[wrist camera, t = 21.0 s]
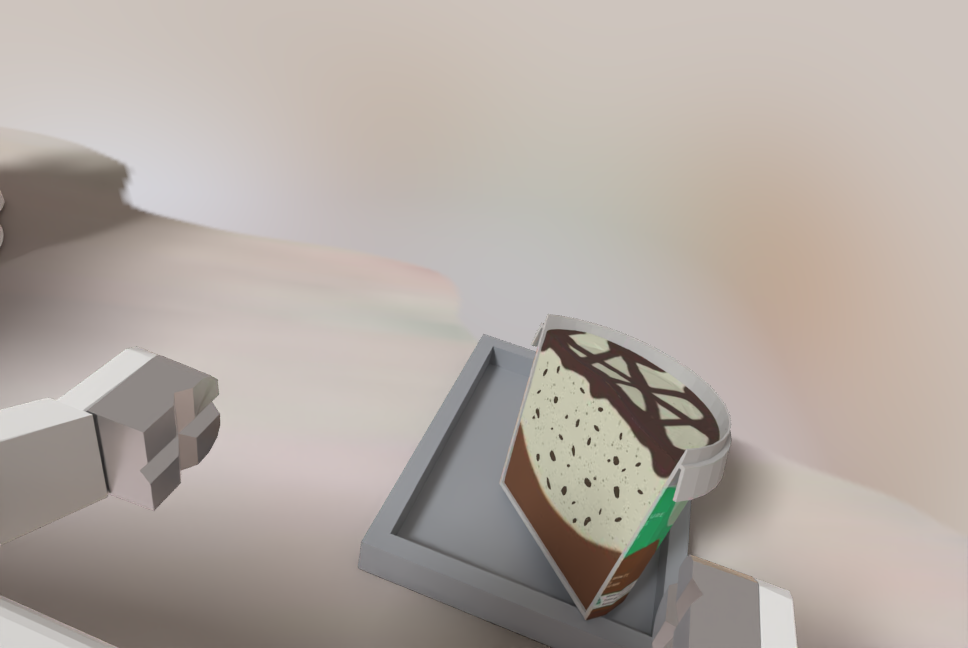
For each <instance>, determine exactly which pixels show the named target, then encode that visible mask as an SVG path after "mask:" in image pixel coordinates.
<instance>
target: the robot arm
mask: <svg viewBox="0 0 968 648" xmlns="http://www.w3.org/2000/svg"><path fill="white" fill-rule="evenodd" d="M3 205H4V198H3V196H2V193H1V190H0V211H1V209H2V208H3ZM3 237H4V234H3V229H2V227H1V225H0V246H1V244H2V242H3ZM218 395H219V389H218V379H216V378H214V377H212V376H211V375H208V374H206V373H203V372H201V371H198V370H196V369H193V368H191V367H188V366H186V365H183V364H181V363H179V362H176V361H174V360H171V359H169V358H166V357H164V356H160V355H158V354H155V353H153V352H150V351H148V350H145V349H143V348H140V347H138V346H135V347H131V348H127V349H125V350H124V351H122V352H121V353H120V354H118V355H117V356H116V357H114V358H113V359H112V360H110V361H109V362H108V363H106V364H105V365H103V366H102V367H101V368H99V369H98V370H97V371H95V372H94V373H93V374H91V375H90V376H89V377H87V378H86V379H85V380H83V381H82V382H80V383H79V384H78V385H76V386H75V387H74V388H72V389H71V390H70V391H68V392H67V393H66V394H64V395H63V396H62V397H60V398H59V399H57V400H55V399H52V398H50V397H48V398H44V399H40V400H36V401H32V402H28V403H24V404H20V405H16V406H13V407H9V408H5V409H1V410H0V546H1V545H3V544H5V543H8V542H10V541H12V540H14V539H16V538H19V537H21V536H23V535H25V534H27V533H30V532H32V531H34V530H36V529H38V528H41V527H43V526H45V525H47V524H49V523H52V522H54V521H56V520H58V519H60V518H63V517H65V516H67V515H69V514H71V513H74V512H76V511H78V510H80V509H82V508H85V507H87V506H89V505H91V504H93V503H95V502H98V501H100V500H102V499H104V498H106V497H108V494H110V495H112V496H115V497H118V498H120V499H123V500H126V501H128V502H131V503H134V504H136V505H139V506H141V507H144V508H147V509H149V510H152V511H155V509H156V508H157V507H158V506H159V505H160V504H161V503H162V502H163V501H164V500H165V499H166V498H167V497H168V496H169V495H170V494H171V493H172V492H173V491H174V489H175V488H176V487H177V486H178V485H179V484H180V483H181V470H184V469H187V468H189V467H192V466H195V465H198V464H199V463H200V462H201V461H202V459H203V458H204V457H205V456H206V455H207V454H208V453H209V451H210V449H211V448H212V446H213V444H214V442H215V440H216V438H217V436H218V431H219V427H220V413H219V412H218V410H217V409H216V407H215V406H214V404H213V402H212V401H213V400H214V399H215V398H216V397H217V396H218ZM652 646H653V648H798V646H797V636H796V625H795V615H794V604H793V597H792V595H791V593H790V591H789V590H786V589H783V588H781V587H778V586H775V585H772V584H770V583H767V582H764V581H762V580H759V579H756V578H755V579H754V578H753V577H752V576H749V575H746V574H743V573H740V572H738V571H735V570H732V569H729V568H727V567H724V566H721V565H718V564H716V563H713V562H710V561H707V560H705V559H702V558H699V557H696V556H694V555H691V554H690V555H689V556H687V557H686V558H685V559H684V561H683V563H682V564H681V566H680V567H679V574H678V583H675V584H672V585H669V586H668V588H667V590H666V592H665V594H664V596H663V598H662V600H661V603H660V605H659V608H658V611H657V614H656V618H655V623H654V628H653V636H652ZM0 648H118V647H116V646H114V645H111V644H109V643H107V642H105V641H102V640H100V639H98V638H96V637H93V636H91V635H89V634H87V633H84V632H82V631H80V630H78V629H75V628H73V627H71V626H69V625H67V624H64V623H62V622H60V621H58V620H55V619H53V618H51V617H49V616H46V615H44V614H42V613H40V612H37V611H35V610H33V609H31V608H28V607H26V606H24V605H22V604H19V603H17V602H15V601H13V600H11V599H8V598H6V597H4V596H2V595H0Z"/></svg>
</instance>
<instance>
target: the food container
mask: <svg viewBox="0 0 968 648" xmlns="http://www.w3.org/2000/svg"><path fill="white" fill-rule="evenodd" d="M531 345H532V346H538V347H537V351H536V354H535V358H534V361H533V365H532V368H531V372H530V375H529V379H528V382H527V386H526V390H525V393H524V397H523V400H522V404H521V407H520V411H519V414H518V418H517V422H516V425H515V429H514V432H513V436H512V439H511V443H510V446H509V450H508V454H507V457H506V461H505V464H504V468H503V471H502V475H501V478H500V482H499V484H500V485H501V487H502V488H503V490H504V492H505V493H506V495H507V496H508V498H509V500H510V501H511V503H512V504H513V506H514V507H515V509H516V511H517V512H518V514H519V515H520V517H521V519H522V520H523V522H524V523H525V525H526V527H527V528H528V530H529V531H530V533H531V534H532V536H533V538H534V539H535V541H536V542H537V544H538V546H539V547H540V549H541V550H542V552H543V553H544V555H545V557H546V558H547V560H548V561H549V563H550V565H551V566H552V568H553V569H554V571H555V573H556V574H557V576H558V577H559V579H560V580H561V582H562V584H563V585H564V587H565V588H566V590H567V592H568V593H569V595H570V596H571V598H572V600H573V601H574V603H575V604H576V606H577V607H578V609H579V611H580V612H581V614H582V615H583V617H584V619H585V620H590V619H593V618H597V617H601V616H604V615H606V614H608V613H609V612H610V611H612V610H613V609H614V608H616V607H617V606H618V605H620V604H621V603H622V602H623V601H624V600H625V598H626V597H627V595H628V594H629V592H630V591H631V589H632V587H633V586H634V584H635V583H636V581H637V580H638V578H639V577H640V575H641V574H642V572H643V570H644V569H645V567H646V566H647V564H648V563H649V561H650V560H651V558H652V556H653V555H654V553H655V552H656V550H657V549H658V547H659V546H660V544H661V542H662V541H663V539H664V538H665V536H666V535H667V533H668V532H669V530H670V528H671V527H672V525H673V524H674V522H675V521H676V519H677V518H678V516H679V514H680V513H681V511H682V510H683V508H684V507H685V505H686V504H687V502H688V500H692V499H695V498H698V497H701V496H703V495H706V494H707V493H709V492H710V491H712V490H713V489H714V488H716V487H717V485H718V484H719V482H720V481H721V479H722V477H723V473H724V469H725V465H726V461H727V456H728V452H729V448H730V444H731V432H730V428H731V418H730V414H729V412H728V409H727V407H726V405H725V404H724V402H723V401H722V399H721V398H720V397H719V395H718V394H717V393H716V392H715V391H714V390H713V388H712V387H711V386H710V385H709V384H707V383H706V382H705V381H704V380H703V379H702V378H701V377H700V376H698V375H697V374H696V373H694V372H693V371H692V370H690V369H689V368H688V367H686V366H685V365H683V364H682V363H680V362H679V361H677V360H676V359H674V358H673V357H671V356H669V355H667V354H666V353H664V352H662V351H660V350H659V349H657V348H655V347H653V346H650V345H649V344H647V343H645V342H643V341H640V340H638V339H636V338H634V337H631V336H629V335H627V334H624V333H621V332H619V331H616V330H613V329H611V328H608V327H604V326H601V325H598V324H595V323H592V322H588V321H584V320H580V319H575V318H570V317H565V316H559V315H551V314H548V315H547V317H546V320H545V323H541V325H540V327H539V329H538V331H537V333H536V335H535V337H534V339H533V341H532V343H531Z"/></svg>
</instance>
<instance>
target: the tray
mask: <svg viewBox="0 0 968 648" xmlns="http://www.w3.org/2000/svg"><path fill="white" fill-rule="evenodd" d="M535 354H536V352H535V351H532V350H529V349H526V348H524V347H521V346H517V345H515V344H512V343H509V342H506V341H503V340H500V339H497V338H494V337H491V336H488V335H485V334H483V336H482V338H481V339H480V341H479V343H478V344H477V346H476V348H475V349H474V351H473V353H472V355H471V356H470V358H469V360H468V361H467V363H466V365H465V366H464V368H463V370H462V372H461V373H460V375H459V377H458V378H457V380H456V382H455V383H454V385H453V387H452V389H451V390H450V392H449V394H448V395H447V397H446V399H445V400H444V402H443V404H442V406H441V407H440V409H439V411H438V412H437V414H436V416H435V417H434V419H433V421H432V423H431V424H430V426H429V428H428V429H427V431H426V433H425V434H424V436H423V438H422V440H421V441H420V443H419V445H418V446H417V448H416V450H415V451H414V453H413V455H412V457H411V458H410V460H409V462H408V463H407V465H406V467H405V468H404V470H403V472H402V474H401V475H400V477H399V479H398V480H397V482H396V484H395V485H394V487H393V489H392V491H391V492H390V494H389V496H388V497H387V499H386V501H385V502H384V504H383V506H382V508H381V509H380V511H379V513H378V514H377V516H376V518H375V519H374V521H373V523H372V525H371V526H370V528H369V530H368V531H367V533H366V535H365V536H364V538H363V540H362V542H361V548H360V556H359V563H358V568H359V569H361V570H364V571H366V572H368V573H371V574H373V575H376V576H378V577H381V578H383V579H386V580H388V581H391V582H393V583H395V584H398V585H400V586H403V587H405V588H408V589H410V590H413V591H415V592H418V593H420V594H422V595H425V596H427V597H430V598H432V599H435V600H437V601H440V602H442V603H445V604H447V605H449V606H452V607H454V608H457V609H459V610H462V611H464V612H467V613H469V614H471V615H474V616H476V617H479V618H481V619H484V620H486V621H489V622H491V623H494V624H496V625H498V626H501V627H503V628H506V629H508V630H511V631H513V632H516V633H518V634H521V635H523V636H525V637H528V638H530V639H533V640H535V641H538V642H540V643H543V644H545V645H548V646H550V647H552V648H653V646H652V636H653V628H654V623H655V618H656V614H657V611H658V608H659V605H660V603H661V600H662V598H663V596H664V594H665V592H666V590H667V588H668V586H669V585H672V584H675V583H678V574H679V567H680V566H681V564H682V563H683V561H684V559H685V558H686V557H687V556H688V541H689V527H690V512H691V500H688V502H687V504H686V505H685V507H684V508H683V510H682V511H681V513H680V514H679V516H678V518H677V519H676V521H675V522H674V524H673V525H672V527H671V528H670V530H669V532H668V533H667V535H666V536H665V538H664V539H663V541H662V542H661V544H660V546H659V547H658V549H657V550H656V552H655V553H654V555H653V556H652V558H651V560H650V561H649V563H648V564H647V566H646V567H645V569H644V570H643V572H642V574H641V575H640V577H639V578H638V580H637V581H636V583H635V584H634V586H633V587H632V589H631V591H630V592H629V594H628V595H627V597H626V598H625V600H624V601H623V602H622V603H621V604H620V605H618V606H617V607H616V608H614V609H613V610H612V611H610V612H609V613H608V614H606V615H604V616H601V617H597V618H593V619H590V620H585V619H584V617H583V615H582V614H581V612H580V611H579V609H578V607H577V606H576V604H575V603H574V601H573V600H572V598H571V596H570V595H569V593H568V592H567V590H566V588H565V587H564V585H563V584H562V582H561V580H560V579H559V577H558V576H557V574H556V573H555V571H554V569H553V568H552V566H551V565H550V563H549V561H548V560H547V558H546V557H545V555H544V553H543V552H542V550H541V549H540V547H539V546H538V544H537V542H536V541H535V539H534V538H533V536H532V534H531V533H530V531H529V530H528V528H527V527H526V525H525V523H524V522H523V520H522V519H521V517H520V515H519V514H518V512H517V511H516V509H515V507H514V506H513V504H512V503H511V501H510V500H509V498H508V496H507V495H506V493H505V492H504V490H503V488H502V487H501V485H500V484H499V482H500V478H501V475H502V471H503V468H504V464H505V461H506V457H507V454H508V450H509V446H510V443H511V439H512V436H513V432H514V429H515V425H516V422H517V418H518V414H519V411H520V407H521V404H522V400H523V397H524V393H525V390H526V386H527V382H528V379H529V375H530V372H531V368H532V365H533V361H534V358H535Z"/></svg>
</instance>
